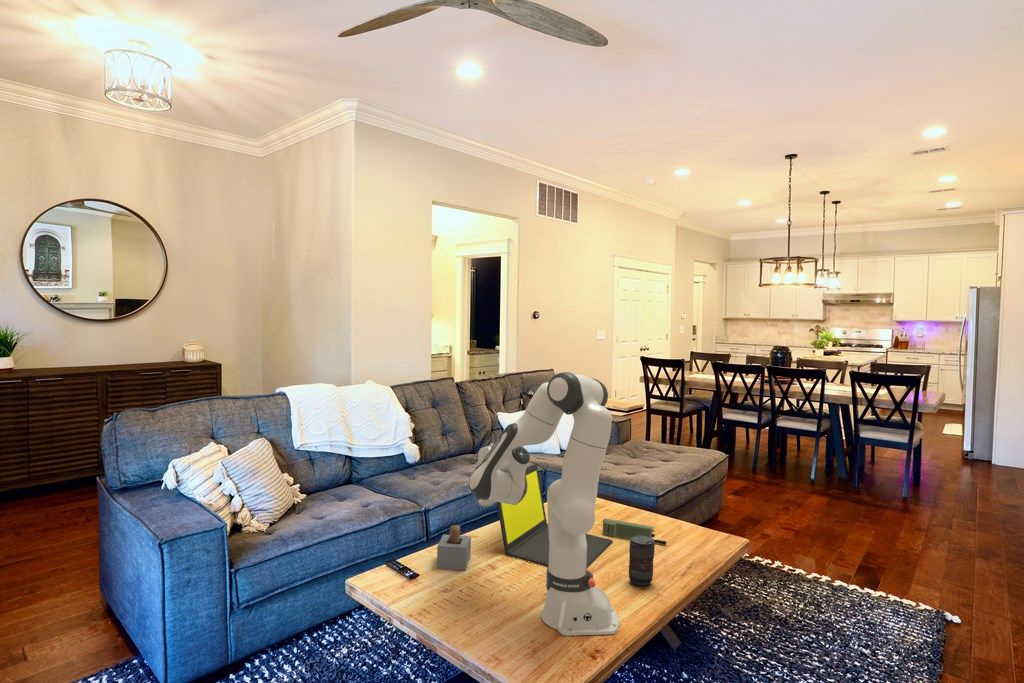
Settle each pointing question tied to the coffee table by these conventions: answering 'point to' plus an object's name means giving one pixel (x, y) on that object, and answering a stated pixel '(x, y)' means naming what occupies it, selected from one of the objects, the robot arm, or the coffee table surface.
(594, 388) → the robot arm
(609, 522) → the handheld radio
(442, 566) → the socket block
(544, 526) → the laptop
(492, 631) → the coffee table surface
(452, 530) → the walnut peg
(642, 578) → the camera lens
